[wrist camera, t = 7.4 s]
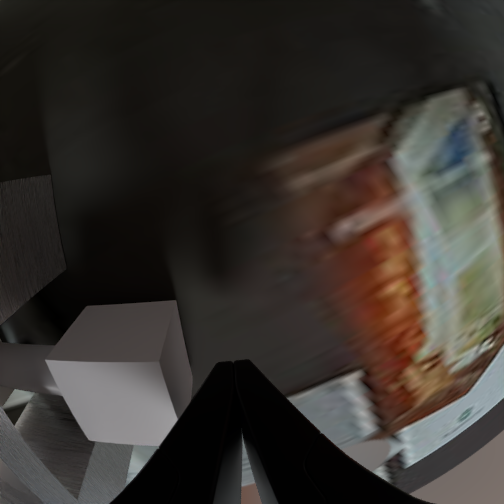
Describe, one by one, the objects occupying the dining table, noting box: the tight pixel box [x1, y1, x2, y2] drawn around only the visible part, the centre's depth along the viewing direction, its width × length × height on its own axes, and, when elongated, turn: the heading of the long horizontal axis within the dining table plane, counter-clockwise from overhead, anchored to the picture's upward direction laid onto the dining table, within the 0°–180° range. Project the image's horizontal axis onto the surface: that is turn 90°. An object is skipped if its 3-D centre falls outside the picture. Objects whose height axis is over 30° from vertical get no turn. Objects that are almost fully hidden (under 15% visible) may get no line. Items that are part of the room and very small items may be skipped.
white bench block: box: [0, 175, 134, 504], centre depth 6 cm, size 11×4×6 cm, turn 4°
